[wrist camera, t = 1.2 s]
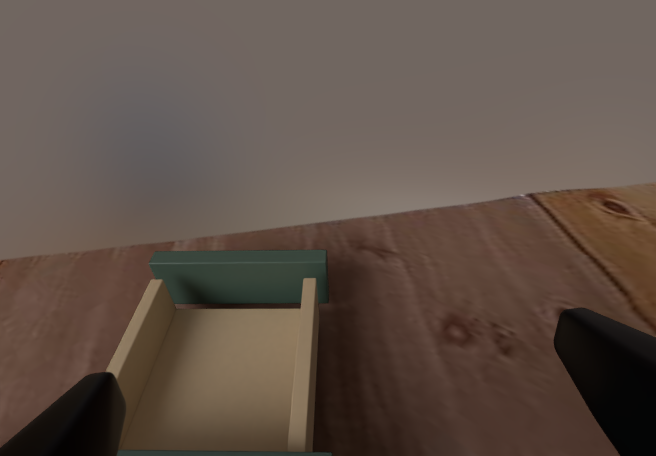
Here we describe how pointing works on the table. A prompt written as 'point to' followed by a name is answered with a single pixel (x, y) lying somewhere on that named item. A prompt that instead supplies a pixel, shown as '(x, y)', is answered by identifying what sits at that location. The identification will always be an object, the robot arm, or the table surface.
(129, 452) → the cabinet
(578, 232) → the table surface
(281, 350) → the drawer
